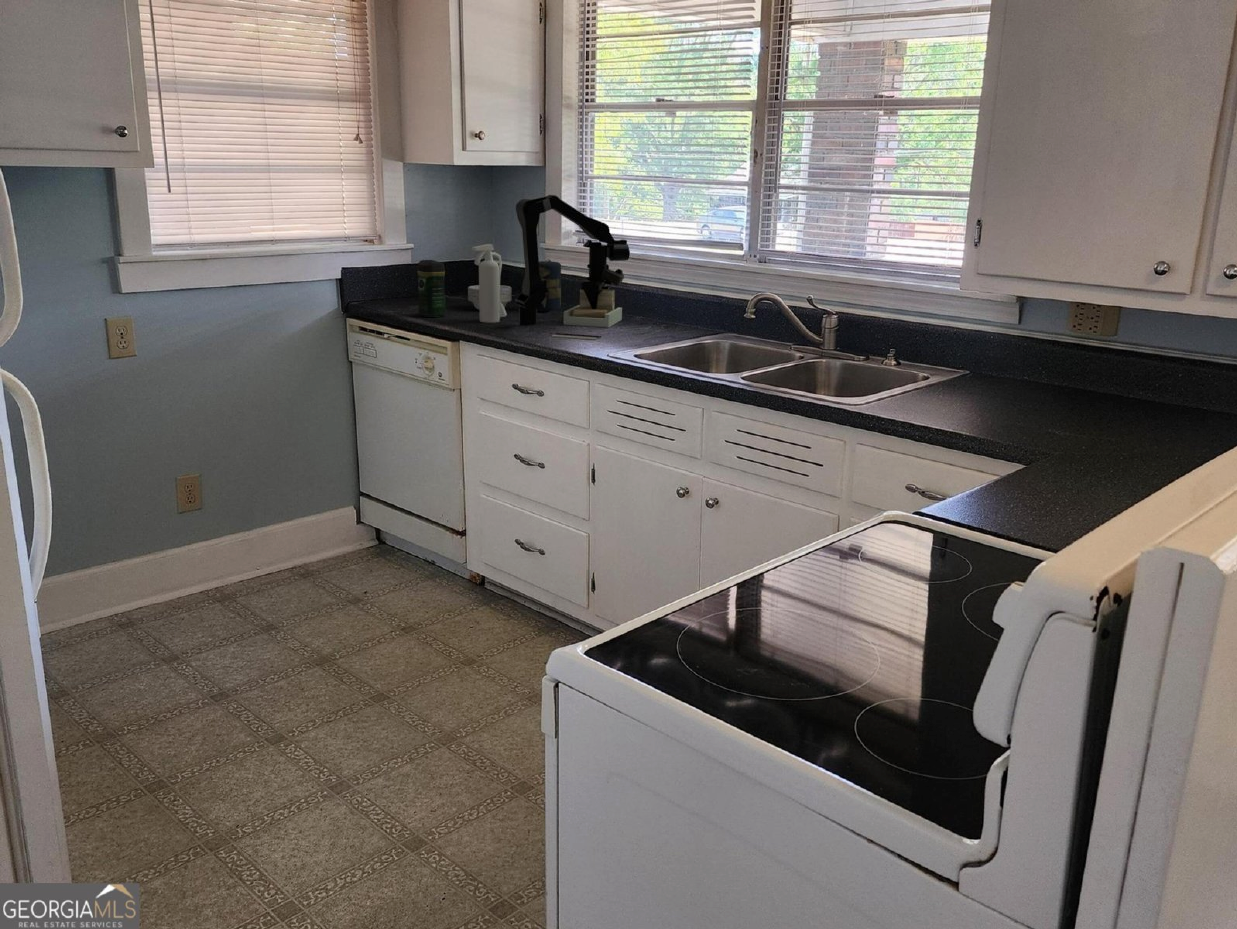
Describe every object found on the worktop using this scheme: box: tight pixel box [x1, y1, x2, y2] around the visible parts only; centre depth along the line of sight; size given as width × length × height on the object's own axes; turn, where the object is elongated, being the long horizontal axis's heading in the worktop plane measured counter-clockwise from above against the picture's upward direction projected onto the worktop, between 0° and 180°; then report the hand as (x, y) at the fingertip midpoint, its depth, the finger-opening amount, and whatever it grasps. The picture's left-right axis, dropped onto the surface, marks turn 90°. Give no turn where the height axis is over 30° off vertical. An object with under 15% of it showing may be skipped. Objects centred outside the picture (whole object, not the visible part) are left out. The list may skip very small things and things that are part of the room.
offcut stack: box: [572, 308, 607, 319], centre depth 341 cm, size 4×11×4 cm, turn 75°
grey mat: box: [551, 332, 603, 341], centre depth 328 cm, size 14×14×1 cm
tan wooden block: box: [579, 288, 616, 313], centre depth 348 cm, size 3×11×10 cm, turn 75°
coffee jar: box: [416, 259, 447, 318], centre depth 353 cm, size 10×8×19 cm
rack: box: [563, 304, 623, 328], centre depth 345 cm, size 16×15×5 cm
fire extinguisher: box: [471, 243, 507, 324], centre depth 345 cm, size 7×12×25 cm, turn 130°
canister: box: [537, 258, 562, 312], centre depth 370 cm, size 10×10×18 cm
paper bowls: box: [467, 284, 512, 311], centre depth 373 cm, size 15×15×8 cm
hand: (596, 309), depth 349 cm, fingers open, 6 cm apart
